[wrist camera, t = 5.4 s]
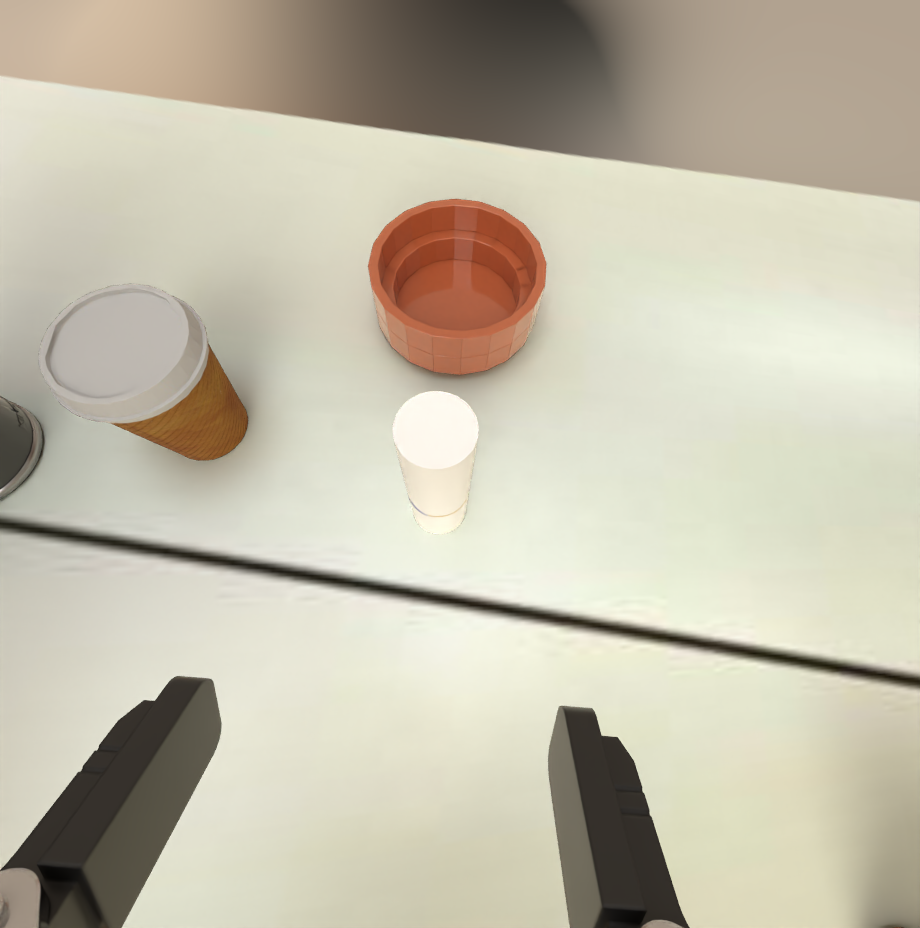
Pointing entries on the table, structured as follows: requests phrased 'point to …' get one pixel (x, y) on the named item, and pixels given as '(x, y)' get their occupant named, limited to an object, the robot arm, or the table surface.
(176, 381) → the disposable coffee cup
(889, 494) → the table surface
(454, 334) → the bowl
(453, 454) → the tube
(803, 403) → the table surface
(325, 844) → the table surface
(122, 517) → the table surface
